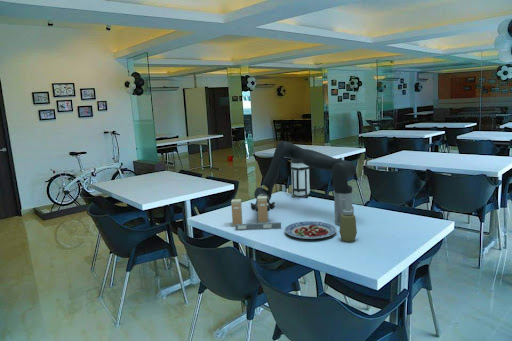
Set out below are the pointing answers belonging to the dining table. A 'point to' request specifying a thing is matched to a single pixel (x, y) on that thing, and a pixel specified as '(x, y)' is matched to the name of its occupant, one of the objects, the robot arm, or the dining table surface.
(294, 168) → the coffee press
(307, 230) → the ceramic plate
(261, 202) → the carton
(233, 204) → the faced carton
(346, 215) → the squeeze bottle
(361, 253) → the dining table surface
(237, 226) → the rail
